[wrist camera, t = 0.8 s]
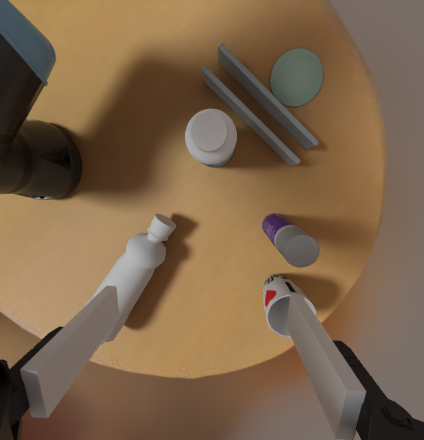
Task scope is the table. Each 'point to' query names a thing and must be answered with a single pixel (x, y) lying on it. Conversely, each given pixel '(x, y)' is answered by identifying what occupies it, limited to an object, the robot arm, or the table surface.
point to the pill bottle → (211, 137)
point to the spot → (296, 77)
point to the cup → (280, 302)
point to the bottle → (136, 268)
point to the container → (291, 241)
